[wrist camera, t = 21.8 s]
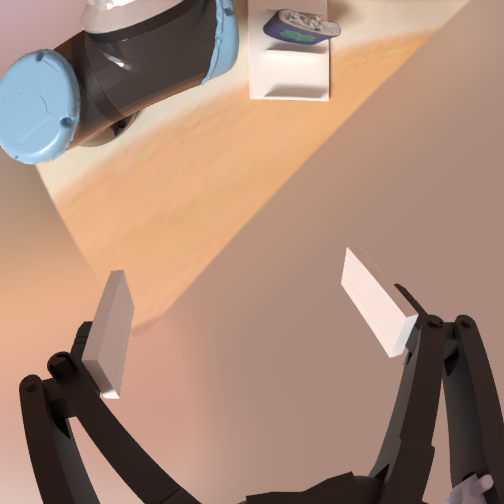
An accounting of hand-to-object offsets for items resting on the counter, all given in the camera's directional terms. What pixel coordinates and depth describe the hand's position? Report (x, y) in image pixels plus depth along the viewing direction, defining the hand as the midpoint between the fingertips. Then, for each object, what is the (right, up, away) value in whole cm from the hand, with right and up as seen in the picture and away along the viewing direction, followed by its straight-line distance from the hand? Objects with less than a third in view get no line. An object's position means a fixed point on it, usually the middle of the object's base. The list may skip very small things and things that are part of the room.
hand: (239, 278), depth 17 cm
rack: (+6, +36, +21) cm, 42 cm away
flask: (+7, +36, +20) cm, 42 cm away
